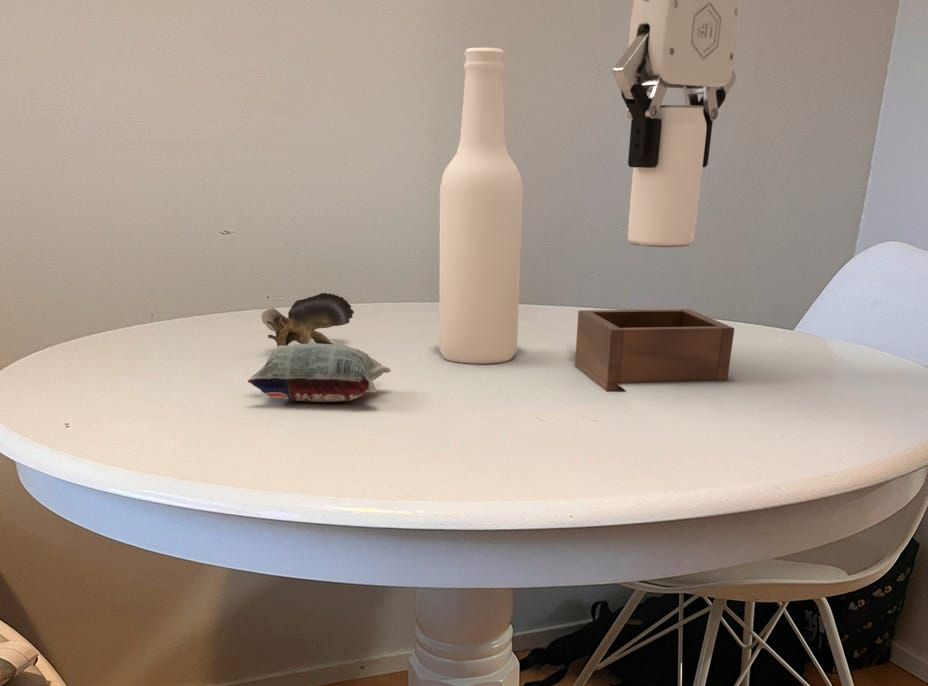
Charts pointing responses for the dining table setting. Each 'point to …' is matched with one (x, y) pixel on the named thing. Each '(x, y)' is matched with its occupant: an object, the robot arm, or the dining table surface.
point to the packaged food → (317, 373)
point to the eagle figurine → (308, 319)
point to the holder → (651, 347)
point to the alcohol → (480, 225)
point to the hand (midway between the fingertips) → (668, 165)
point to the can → (670, 182)
